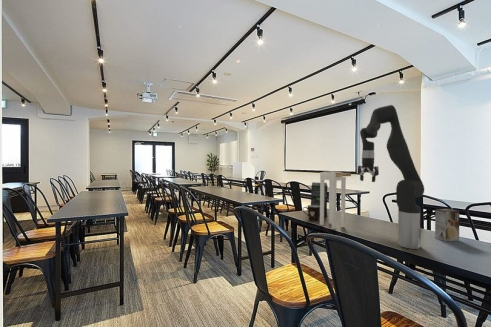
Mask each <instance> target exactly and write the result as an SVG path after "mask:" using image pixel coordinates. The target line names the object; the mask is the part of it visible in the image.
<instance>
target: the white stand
mask: <svg viewBox="0 0 491 327" xmlns="http://www.w3.org/2000/svg"><path fill="white" fill-rule="evenodd" d="M324 172H325V171H323V172H319V173H320V174H319V180H320V182H319V183H320V217H319V225H320V226H324V225H325V218H324V183H325V181H328V224H329V225H331V230H337V189H338V188H337V187H338V186H337V182H338V181H340V182H341V183H340V184H341V185H340V187H341V188H340V228H342V227H345V228H346V184H347V183H346V181H347V176H342V177H336V173H324Z"/></svg>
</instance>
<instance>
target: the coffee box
mask: <svg viewBox="0 0 491 327" xmlns="http://www.w3.org/2000/svg"><path fill="white" fill-rule="evenodd" d="M434 212H435V213H434V214H435V215H434V223H435V224H434V238H435V239H436V240H439V241H443V240H444V241H443V242H453V241H460V210H457V209H451V208H439V209H438V208H436V209H434Z"/></svg>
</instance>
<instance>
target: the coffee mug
mask: <svg viewBox="0 0 491 327" xmlns="http://www.w3.org/2000/svg"><path fill="white" fill-rule="evenodd" d="M304 209H307V212H305V210H304ZM319 211H320V206H318V205H311V204H309V205H307V206H304V207H302V212H303V213H304V214H305V215H307V217H308V221H310V222H319V220H320V217H319Z"/></svg>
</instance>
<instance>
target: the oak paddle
mask: <svg viewBox="0 0 491 327" xmlns="http://www.w3.org/2000/svg"><path fill="white" fill-rule="evenodd" d="M323 172H324V173H336V177H351V176H352V174H351V172H342V171H332V170H331V171H323Z"/></svg>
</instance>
